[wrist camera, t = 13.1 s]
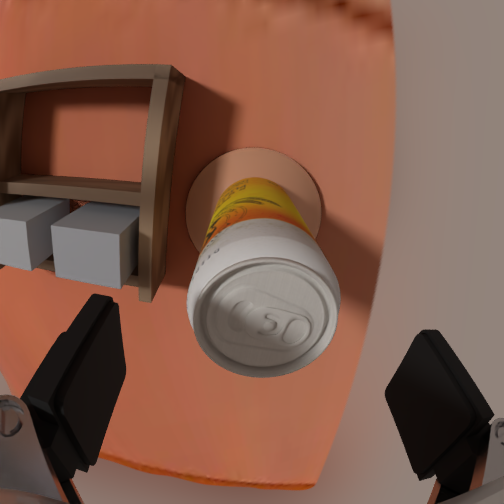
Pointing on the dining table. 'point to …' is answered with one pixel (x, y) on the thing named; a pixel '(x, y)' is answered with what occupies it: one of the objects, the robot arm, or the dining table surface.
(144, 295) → the rack
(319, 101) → the dining table surface
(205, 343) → the beer can
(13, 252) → the offcut
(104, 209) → the offcut
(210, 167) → the coaster
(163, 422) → the dining table surface
